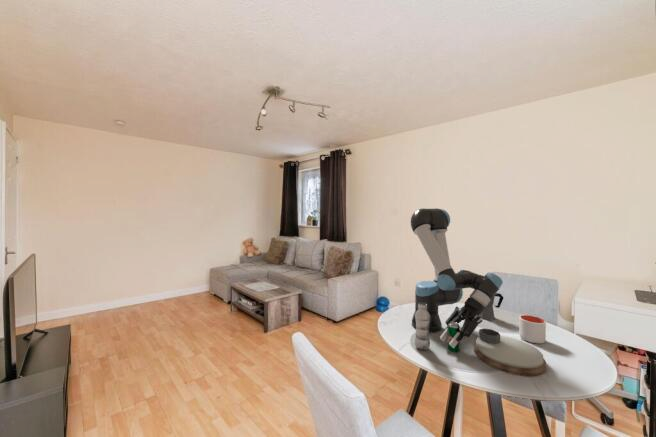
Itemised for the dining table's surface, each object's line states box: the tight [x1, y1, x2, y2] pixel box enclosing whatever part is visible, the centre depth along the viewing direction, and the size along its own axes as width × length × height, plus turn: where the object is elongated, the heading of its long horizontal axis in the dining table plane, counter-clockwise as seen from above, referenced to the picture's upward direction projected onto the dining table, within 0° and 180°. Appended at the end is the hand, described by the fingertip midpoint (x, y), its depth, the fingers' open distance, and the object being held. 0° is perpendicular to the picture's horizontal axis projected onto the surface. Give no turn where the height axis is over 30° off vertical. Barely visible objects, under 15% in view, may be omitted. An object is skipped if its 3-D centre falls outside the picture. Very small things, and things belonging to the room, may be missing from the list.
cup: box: [518, 314, 547, 344], centre depth 126 cm, size 10×10×10 cm
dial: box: [475, 328, 544, 369], centre depth 111 cm, size 25×23×5 cm
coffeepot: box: [479, 292, 504, 321], centre depth 153 cm, size 15×9×18 cm, turn 37°
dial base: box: [473, 341, 547, 377], centre depth 111 cm, size 25×25×2 cm
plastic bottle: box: [414, 303, 431, 351], centre depth 118 cm, size 6×7×20 cm
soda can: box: [446, 322, 461, 354], centre depth 117 cm, size 5×5×12 cm
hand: (446, 342), depth 116 cm, fingers closed on soda can, 5 cm apart
